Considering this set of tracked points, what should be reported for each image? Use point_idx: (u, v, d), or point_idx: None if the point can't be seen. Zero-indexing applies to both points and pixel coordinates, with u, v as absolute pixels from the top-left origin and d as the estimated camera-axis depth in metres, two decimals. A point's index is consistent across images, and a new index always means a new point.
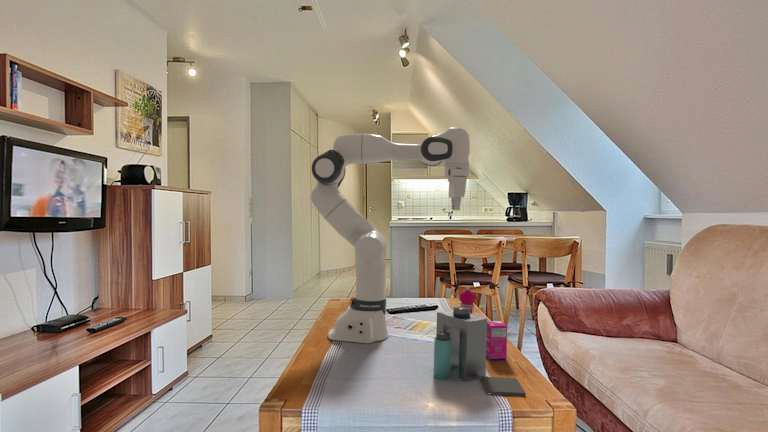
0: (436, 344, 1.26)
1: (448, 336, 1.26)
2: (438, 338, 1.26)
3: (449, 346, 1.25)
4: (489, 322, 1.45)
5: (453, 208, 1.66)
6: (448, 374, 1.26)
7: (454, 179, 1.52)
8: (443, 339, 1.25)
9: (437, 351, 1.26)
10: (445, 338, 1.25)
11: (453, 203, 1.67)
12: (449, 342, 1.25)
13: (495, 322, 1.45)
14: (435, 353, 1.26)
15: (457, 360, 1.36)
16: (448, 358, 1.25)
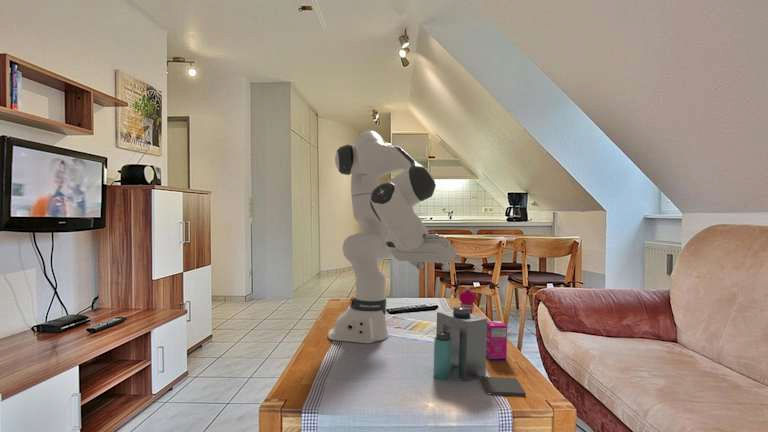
0: (436, 344, 1.26)
1: (448, 336, 1.26)
2: (438, 338, 1.26)
3: (449, 346, 1.25)
4: (489, 322, 1.45)
5: None
6: (448, 374, 1.26)
7: None
8: (443, 339, 1.25)
9: (437, 351, 1.26)
10: (445, 338, 1.25)
11: None
12: (449, 342, 1.25)
13: (495, 322, 1.45)
14: (435, 353, 1.26)
15: (457, 360, 1.36)
16: (448, 358, 1.25)
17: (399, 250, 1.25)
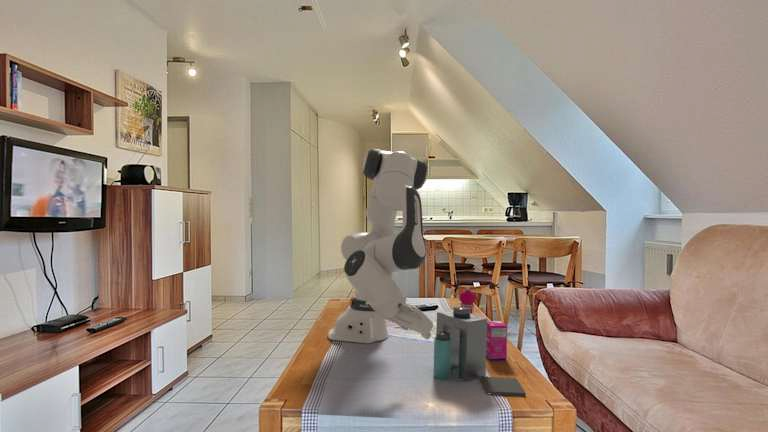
0: (436, 344, 1.26)
1: (448, 336, 1.26)
2: (438, 338, 1.26)
3: (449, 346, 1.25)
4: (489, 322, 1.45)
5: None
6: (448, 374, 1.26)
7: None
8: (443, 339, 1.25)
9: (437, 351, 1.26)
10: (445, 338, 1.25)
11: None
12: (449, 342, 1.25)
13: (495, 322, 1.45)
14: (435, 353, 1.26)
15: (457, 360, 1.36)
16: (448, 358, 1.25)
17: None
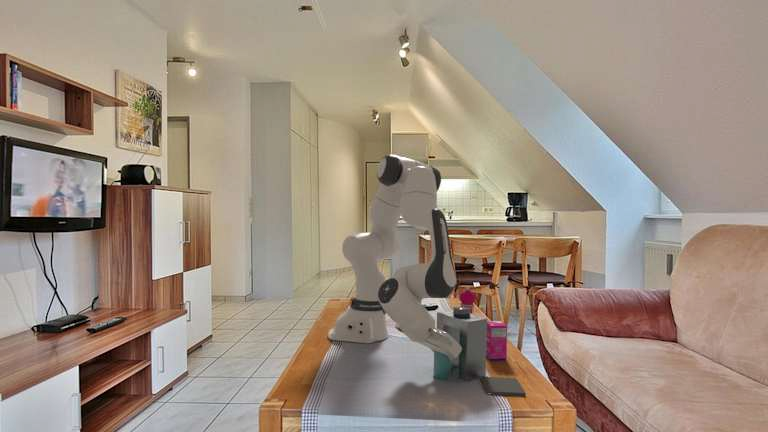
0: None
1: None
2: None
3: None
4: (489, 322, 1.45)
5: None
6: (448, 374, 1.26)
7: None
8: None
9: (437, 351, 1.26)
10: None
11: None
12: None
13: (495, 322, 1.45)
14: (435, 353, 1.26)
15: (457, 360, 1.36)
16: None
17: None
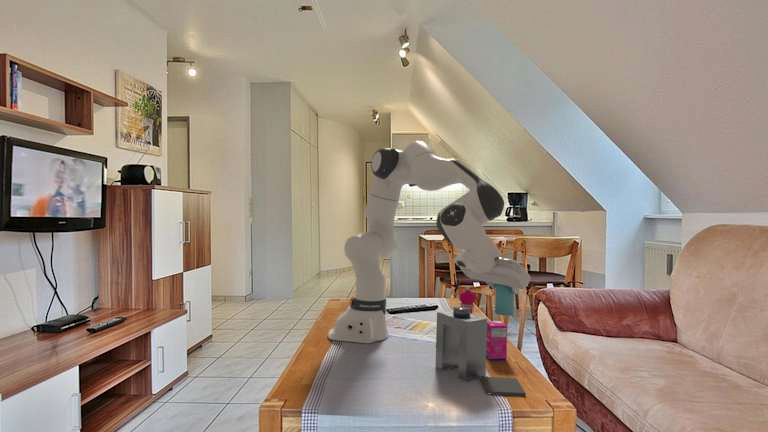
0: None
1: None
2: None
3: None
4: (489, 322, 1.45)
5: None
6: (512, 310, 1.18)
7: None
8: None
9: (499, 286, 1.18)
10: None
11: None
12: None
13: (495, 322, 1.45)
14: (497, 288, 1.19)
15: (457, 360, 1.36)
16: (512, 293, 1.18)
17: (470, 269, 1.21)
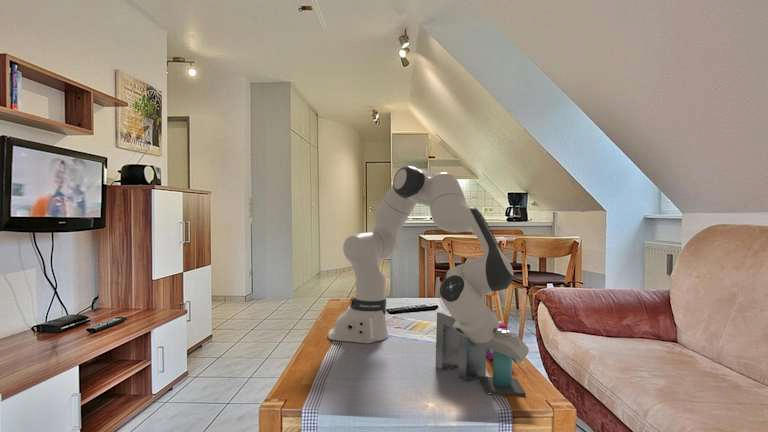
0: None
1: None
2: None
3: None
4: None
5: None
6: (509, 382, 1.19)
7: None
8: None
9: (497, 358, 1.19)
10: None
11: None
12: None
13: None
14: (495, 360, 1.20)
15: (457, 360, 1.36)
16: (509, 365, 1.19)
17: None
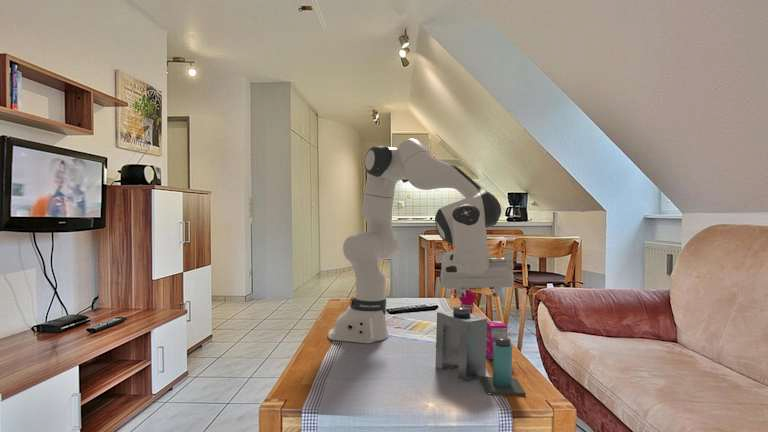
0: (496, 350, 1.19)
1: (509, 342, 1.19)
2: (498, 344, 1.19)
3: (510, 352, 1.19)
4: (489, 322, 1.45)
5: None
6: (509, 382, 1.19)
7: None
8: (504, 345, 1.19)
9: (497, 358, 1.19)
10: (506, 344, 1.19)
11: None
12: (510, 348, 1.19)
13: (495, 322, 1.45)
14: (495, 360, 1.20)
15: (457, 360, 1.36)
16: (509, 365, 1.19)
17: (452, 276, 1.23)
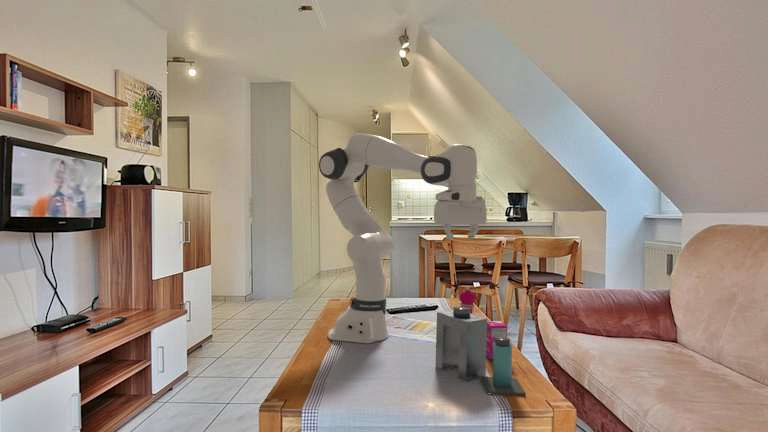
0: (496, 350, 1.19)
1: (508, 342, 1.19)
2: (498, 344, 1.19)
3: (510, 352, 1.19)
4: (489, 322, 1.45)
5: (469, 236, 1.43)
6: (509, 382, 1.19)
7: (435, 204, 1.36)
8: (504, 345, 1.19)
9: (497, 358, 1.19)
10: (506, 344, 1.19)
11: (471, 230, 1.43)
12: (510, 348, 1.19)
13: (495, 322, 1.45)
14: (495, 360, 1.20)
15: (457, 360, 1.36)
16: (509, 365, 1.19)
17: (450, 210, 1.35)
